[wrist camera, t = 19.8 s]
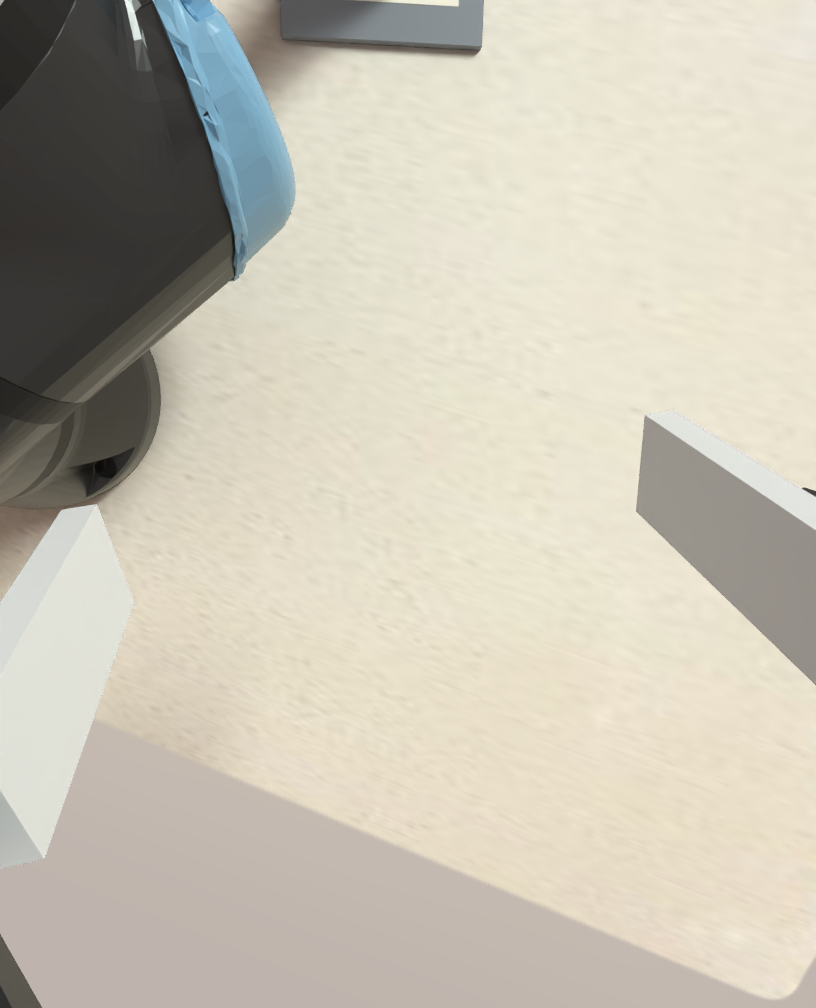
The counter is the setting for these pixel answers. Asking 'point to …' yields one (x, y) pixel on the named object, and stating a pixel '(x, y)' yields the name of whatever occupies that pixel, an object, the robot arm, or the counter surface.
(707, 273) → the counter surface
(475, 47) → the letter card
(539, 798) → the counter surface
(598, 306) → the counter surface
